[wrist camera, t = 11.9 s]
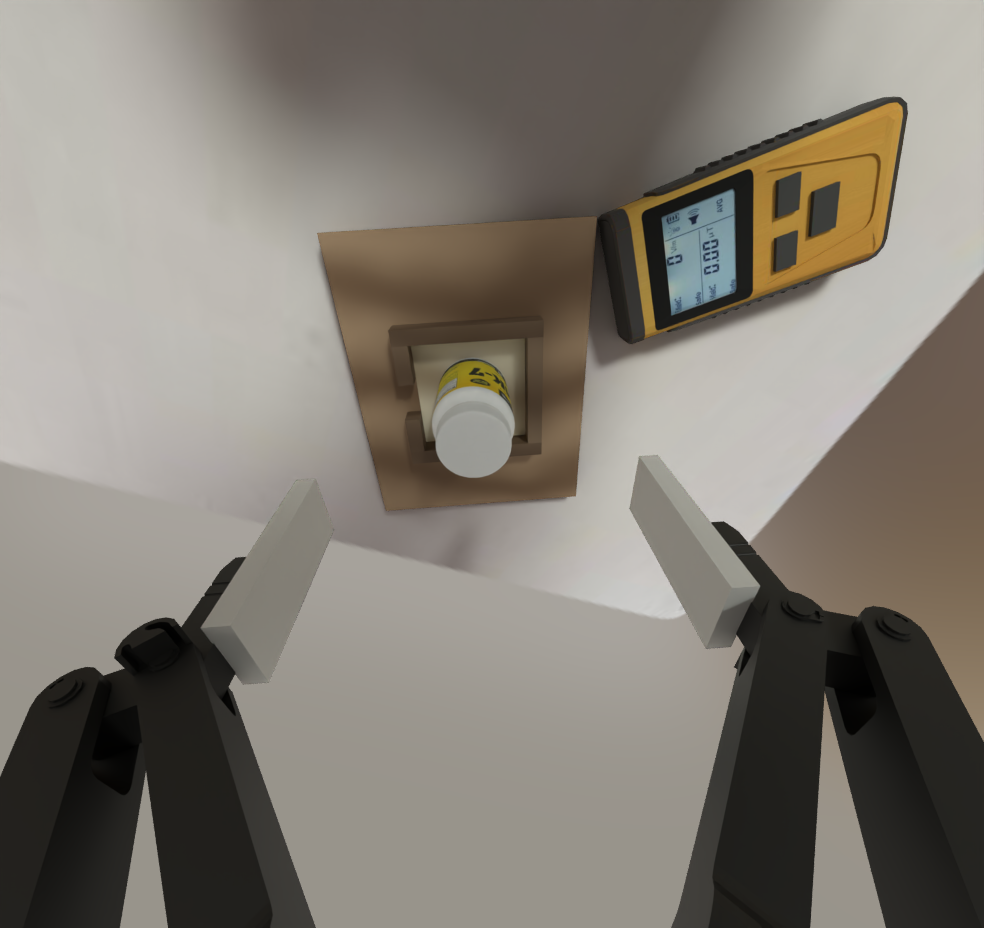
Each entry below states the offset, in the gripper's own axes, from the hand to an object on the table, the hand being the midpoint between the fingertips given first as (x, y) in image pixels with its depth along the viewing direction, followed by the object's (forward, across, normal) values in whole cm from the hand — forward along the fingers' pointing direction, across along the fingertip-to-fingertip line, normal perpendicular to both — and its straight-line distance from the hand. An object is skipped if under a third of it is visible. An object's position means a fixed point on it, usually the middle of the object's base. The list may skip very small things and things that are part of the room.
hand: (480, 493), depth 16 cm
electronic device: (+15, +17, +8) cm, 24 cm away
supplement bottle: (+13, 0, -1) cm, 13 cm away
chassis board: (+14, 0, -1) cm, 14 cm away
